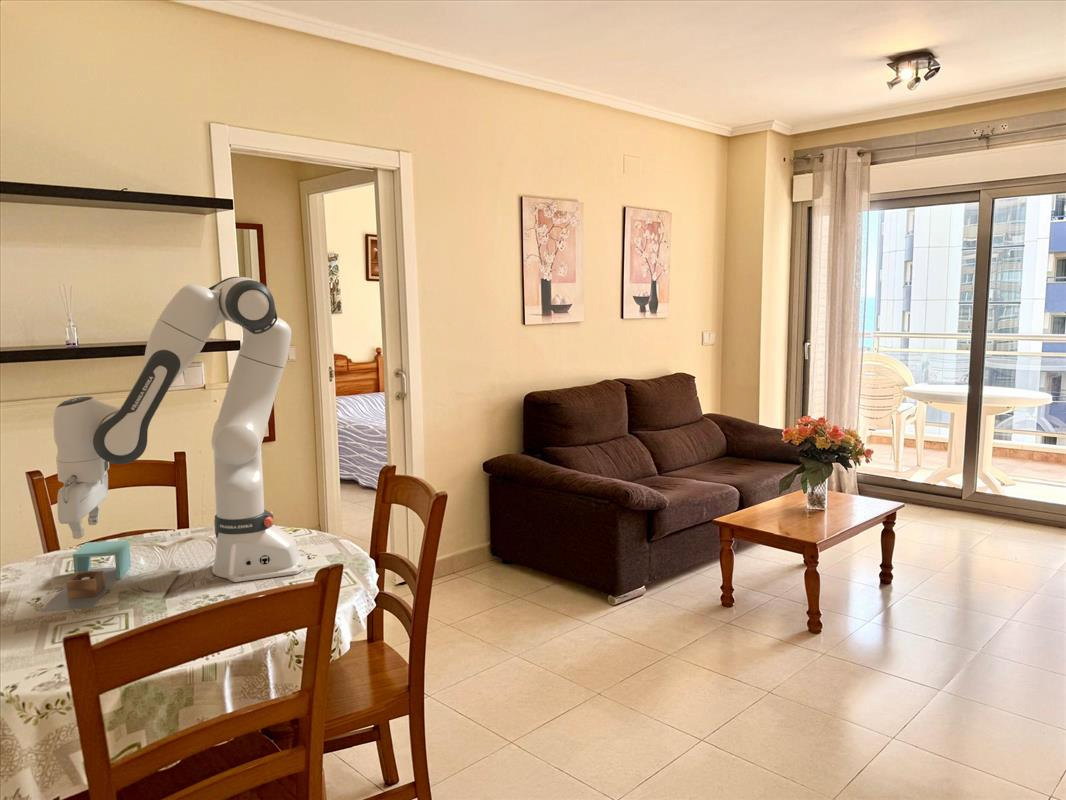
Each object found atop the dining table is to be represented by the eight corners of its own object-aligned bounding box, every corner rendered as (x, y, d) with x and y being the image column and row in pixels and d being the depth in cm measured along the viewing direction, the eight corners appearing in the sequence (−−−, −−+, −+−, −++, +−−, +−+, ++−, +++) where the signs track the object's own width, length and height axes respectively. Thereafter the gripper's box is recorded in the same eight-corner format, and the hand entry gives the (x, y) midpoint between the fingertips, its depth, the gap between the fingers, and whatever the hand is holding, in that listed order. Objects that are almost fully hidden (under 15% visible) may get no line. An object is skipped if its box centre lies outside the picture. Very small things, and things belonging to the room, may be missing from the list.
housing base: (128, 570, 184) (127, 552, 183) (93, 612, 160) (91, 592, 160) (83, 573, 182) (82, 555, 181) (41, 615, 158) (39, 595, 158)
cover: (131, 565, 183) (129, 540, 182) (120, 578, 175) (118, 551, 174) (87, 568, 181) (85, 542, 180) (75, 581, 173) (72, 554, 172)
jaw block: (104, 587, 171) (103, 570, 170) (96, 597, 166) (94, 580, 165) (77, 589, 170) (76, 572, 169) (68, 599, 164) (66, 581, 164)
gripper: (79, 482, 156) (85, 545, 158) (111, 459, 176) (116, 516, 178) (45, 483, 155) (52, 547, 157) (81, 460, 175) (86, 517, 177)
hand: (86, 530), depth 168 cm, fingers open, 8 cm apart
